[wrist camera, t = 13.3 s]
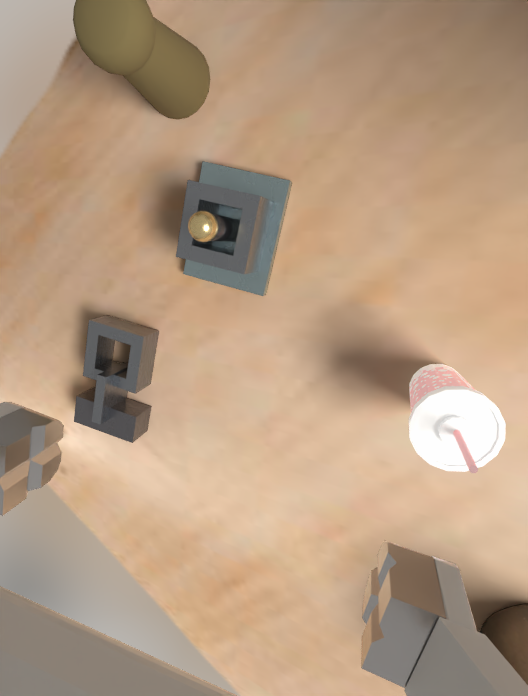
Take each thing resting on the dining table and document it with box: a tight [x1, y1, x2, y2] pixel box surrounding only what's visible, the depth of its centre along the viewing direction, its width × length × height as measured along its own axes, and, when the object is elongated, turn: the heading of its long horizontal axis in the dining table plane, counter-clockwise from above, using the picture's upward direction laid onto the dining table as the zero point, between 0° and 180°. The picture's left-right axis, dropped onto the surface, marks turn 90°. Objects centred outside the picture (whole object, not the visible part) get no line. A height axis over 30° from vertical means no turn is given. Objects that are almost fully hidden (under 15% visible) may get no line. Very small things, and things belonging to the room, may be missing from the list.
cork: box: [73, 0, 210, 119], centre depth 30 cm, size 6×6×11 cm
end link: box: [176, 180, 274, 274], centre depth 34 cm, size 6×6×4 cm
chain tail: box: [74, 315, 159, 443], centre depth 42 cm, size 12×7×4 cm, turn 167°
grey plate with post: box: [183, 161, 292, 296], centre depth 33 cm, size 10×8×9 cm
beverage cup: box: [409, 364, 506, 473], centre depth 30 cm, size 6×6×14 cm
